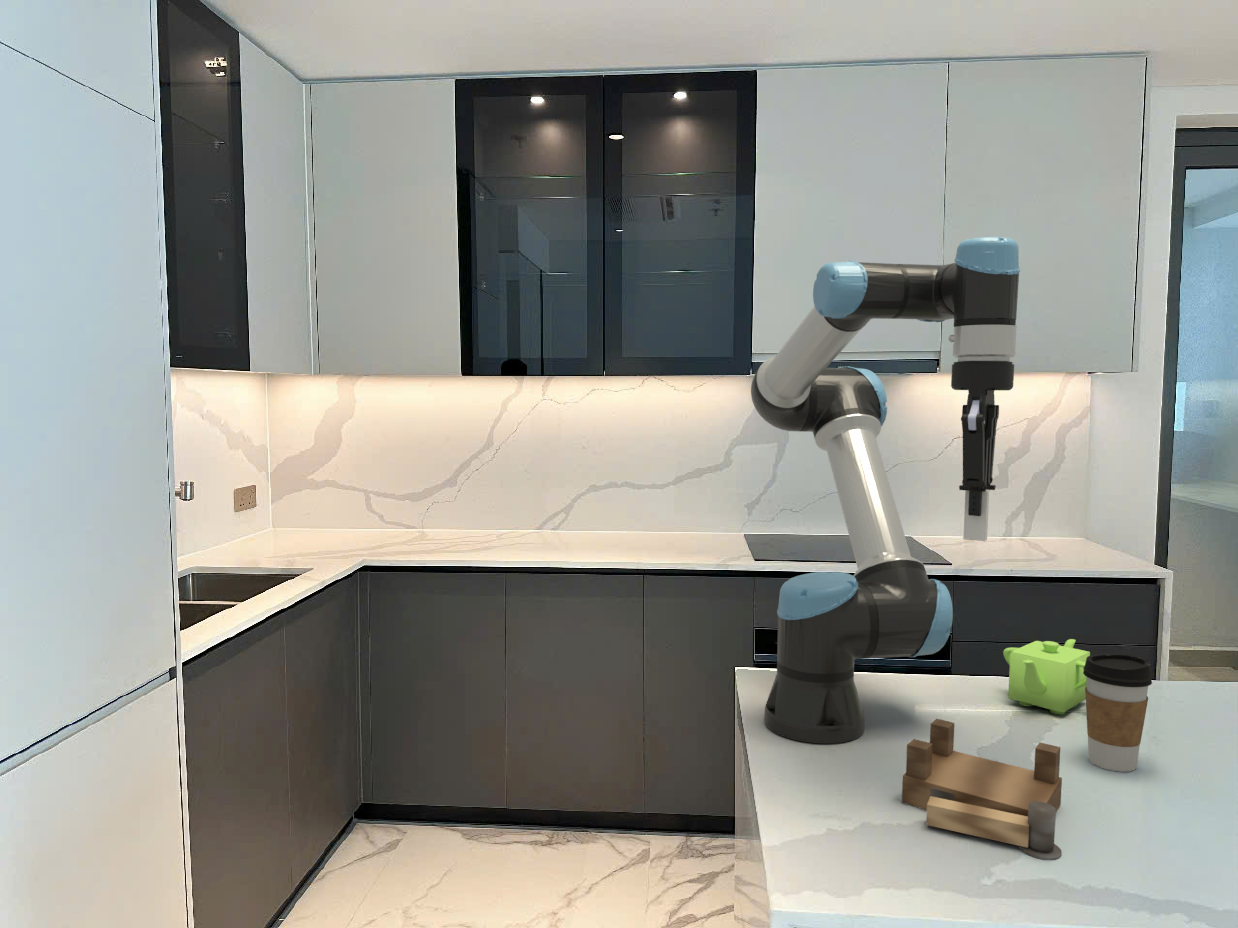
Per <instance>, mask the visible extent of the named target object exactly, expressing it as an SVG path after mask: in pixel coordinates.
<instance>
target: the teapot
mask: <svg viewBox="0 0 1238 928" xmlns="http://www.w3.org/2000/svg"><path fill="white" fill-rule="evenodd" d="M1076 641H1077V640H1076V639H1073V638H1069V639H1067V640H1066V641H1065V643H1064V645H1061V644H1059V643H1058V642H1055V641H1052V640H1051V641H1050V640H1045V641H1041V640H1035V641H1033V642H1030V643H1027V644H1026V645H1023V646H1021V647H1006V648H1005V649H1004V650H1003V651H1002V653H1003V654H1002V655H1003V657H1004V659H1005V661H1006V663H1007V664H1008V665H1009V673H1008V674H1009V676H1008V677H1009V678H1008V693H1007V695H1008V696H1007V698H1008V699H1009V700H1013V701H1016V702H1018V704H1019V705H1020V706H1024V707H1032V706H1036V707H1039V708H1044V709H1046V710H1049V712H1050V713H1051V712H1052V714H1053V713H1054V715H1058V714H1063V715H1065V712H1067V711H1068V710H1070V709H1072V708H1076V707H1077V705H1078V704H1080V703H1082V702H1084V701H1086V696H1085V688H1086V686H1087V681H1086V676H1085V675H1084V674H1083V671H1084V669H1083V667H1084V666H1085V663H1086V659H1087V657H1088V656H1090V655H1091V652H1090V651H1088V650H1087V651H1086V650H1082V649H1079V648H1074V646H1075V643H1076ZM1055 713H1056V714H1055Z"/></svg>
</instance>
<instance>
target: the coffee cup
mask: <svg viewBox="0 0 1238 928" xmlns="http://www.w3.org/2000/svg"><path fill="white" fill-rule="evenodd" d="M1151 666H1152V665H1151V662H1150V660H1148V659H1147V658H1144V657H1141V656H1138V655H1135V654H1134V655H1133V654H1124V653H1099V654H1098V653H1097V654H1090V656H1088V657H1087V659H1086V663H1085V666H1084V667H1083V669H1084V671H1083V674H1084V675H1085V676H1086V681H1087V686H1086V688H1085V696H1086V699H1085V712H1086V728H1087V729H1086V731H1087V746H1088V748H1087V750H1088V752H1087V753H1088V761H1089V762H1090V763H1091V764H1093V765H1094V766H1096V767H1099V768H1101V769H1105V770H1108V771H1113V772H1119V773H1120V772H1121V773H1125V772H1126V773H1127V772H1134V771H1135V770H1136V769H1137V767H1138V759H1139V754H1140V753H1139V752H1140V746H1141V743H1142V742H1141V741H1142V736H1143V730H1144V724H1145V720H1146V719H1145V718H1146V714H1147V713H1146V712H1147V707H1148V702H1149V696H1148V690H1149V686H1151V685H1152V684H1153V681H1152V680H1153V675H1152V669H1151Z"/></svg>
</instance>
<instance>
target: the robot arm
mask: <svg viewBox="0 0 1238 928" xmlns="http://www.w3.org/2000/svg"><path fill="white" fill-rule="evenodd" d="M1020 268H1021V267H1020V266H1019V244H1018V243H1017V241H1016V240H1014V239H1013V238H1010V237H1003V236H985V237H974V238H968V239H965V240H962V241H960V243H959V245H958V246H957V248H956V253H955V258H954V262H952V263H947V264H914V263H913V264H911V263H910V264H909V263H884V262H883V263H882V262H861V261H859V262H858V261H855V260H853V261H852V260H848V261H835V262H832V261H831V262H827V263H825V264H823V265H822V266H821V267H820V268H819V269H818V271H817V274H816V279H815V281H814V283H813V288H812V290H813V291H812V297H813V298H812V301H813V305H814V306H813V307H812V308H811V310H810V311H809V312H808V313H807V315H806V316H805V317H804V318H803V320H802V321H801V323H799V325H798V326H797V328H796V329H795V331H793V333H792V335H790V337H789V338H788V340H787V341H786V342H785V343H784V345H783V346H782V347H781V349H780V350H779V351H778V352H777V354H776V355H775V356H774V355H773V356H771V357H769V358H767V359H765V360H764V361H763V362H762V363H761V365H760V366H759V368H758V369H757V370H756V372H755V373H754V375H753V379H752V381H751V385H750V396H751V401H752V404H753V406H754V408H755V410H756V412H757V413H758V415H760V417H761V418H762V419H763V420H764V421H765V422H766V423H767V424H769V425H771V426H773V427H775V428H777V429H779V430H781V431H787V432H803V433H804V432H806V433H807V432H811V433H813V439H814V441H815V444H816V446H817V447H818V448H819V449H821V450H823V451H825V452H826V453H827V457H828V461H829V464H830V468H831V471H832V476H833V479H834V483H835V488H836V491H837V494H838V498H839V503H840V506H841V510H842V514H843V518H844V521H845V525H846V528H847V532H848V536H849V537H848V538H849V541H850V544H851V547H852V551H853V555H854V560H855V562H856V563H855V564H856V567H857V569H856V571H855V572H854V574H853V575H852V574H850V573H848V572H843V571H832V572H831V571H830V572H828V571H815V572H810V573H804V574H800V575H796V576H794V577H791V578H789V579H788V580H787V581H785V582H784V583H783V584H782V586H781V587H780V590H779V598H778V606H777V609H776V613H777V648H776V649H777V653H776V655H777V657H776V659H777V661H776V674H775V678H774V680H773V684H772V685H771V689H770V691H769V694H768V697H767V700H766V702H765V705H764V720H763V721H764V725H765V726H766V728H768V729H769V730H771V731H772V732H773V733H775V734H776V735H779V736H782V737H784V738H788V739H790V740H795V741H798V742H799V741H800V742H803V743H805V742H806V743H813V744H840V743H846V742H849V741H850V742H851V741H853V740H855V739H857V738H859V737H861V736H862V735H863V734H864V731H865V714H864V709H863V707H862V703H861V700H860V697H859V693H858V689H857V687H856V683H855V677H854V676H855V660H856V659H875V658H877V659H879V658H880V659H881V658H901V657H904V658H905V657H908V658H916V657H917V656H926V655H927V656H928V655H934V654H936V653H938V652H939V651H941V650H942V648H944V646H945V645H946V643H947V642H948V639H949V636H950V635H951V631H952V630H951V629H952V626H953V619H954V617H953V615H954V614H953V613H954V612H953V611H954V610H953V602H952V597H951V593H950V591H949V589H948V587H947V586H946V585H945V584H944V583H943V582H942V581H940V580H938V579H935V578H930V579H929V576H928V574H927V571H926V567H925V565H924V563H923V562H922V561H920V560H919V559H917V558H915V557H912V556H911V551H910V549H909V545H908V543H907V542H908V541H907V539H906V535H905V532H904V529H903V526H902V523H901V519H900V515H899V512H898V509H897V506H896V502H895V498H894V495H893V492H892V489H891V485H890V481H889V479H888V475H887V471H886V469H885V465H884V462H883V458H882V455H881V452H880V448H879V445H878V442H877V437H878V436H879V434H880V433H881V431H882V427H883V425H884V423H885V421H886V418H887V414H888V406H886V403H888V399H887V392H886V390H885V387H884V385H883V384H884V383H883V382H882V381H881V379H880V378H879V376H878V375H877V374H876V373H874V372H873V371H872V370H869V369H866V368H859V367H854V366H843V367H828V366H829V365H830V364H831V363H832V362H833V361H834V360H835V359H836V357H837V356H839V355H840V353H841V352H842V351H843V350H844V349H845V348H846V347H847V346H848V344H849V343H850V342H851V341H852V340H853V339H854V338H855V337H856V335H857V334H858V333H859V332H860V331H861V330H862V329H863V328H864V327H865V326H866V325H867V324H869V322H870V321H871V320H874V319H880V320H881V319H883V320H885V319H886V320H887V319H888V320H889V319H890V320H891V319H892V320H894V319H895V320H918V321H920V322H929V323H931V322H935V323H940V322H941V323H942V322H944V321H948V320H952V319H953V327H954V328H953V333H954V334H950V335H949V336H948V342H950V343H953V344H952V345H953V346H952V356H953V357H954V358H956V359H957V361H954V362H953V363H952V364H951V377H950V378H951V381H950V382H951V383H950V387H951V388H952V390H955V391H968V392H967V393H968V395H967V400H966V404H963V405H962V409H961V410H962V411H961V413H962V414H961V417H960V421H961V428H962V429H961V430H962V480H961V485H959V486H958V488H959V491H964V493H965V494H964V516H963V517H964V518H963V537H962V538H963V540H968V541H979V542H986V541H987V540H988V529H989V527H988V525H989V523H988V522H989V507H990V506H989V503H990V502H989V501H990V491H995V490H996V485H995V484H993V471H994V461H995V459H994V458H995V445H996V435H997V425H998V420H999V417H1000V405H999V404H995V391H1011V390H1012V389H1013V388H1014V380H1015V379H1014V375H1015V364H1014V363H1013V362H1012V361H1011V358H1014V357H1015V356H1016V347H1017V345H1016V344H1017V323H1016V322H1017V321H1016V320H1017V313H1018V312H1017V311H1018V297H1019V280H1020V279H1019V277H1020V272H1021V269H1020Z"/></svg>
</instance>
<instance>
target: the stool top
mask: <svg viewBox="0 0 1238 928" xmlns="http://www.w3.org/2000/svg"><path fill="white" fill-rule="evenodd" d="M929 733H930V734H929V742H927V741H924V740H919V739H916V738H912V739H911V741H910V742H908V743H907V744H906V761H905V763H906V765H905V773H904V774H903V775H902V783H901V784H902V786H901V803H903V804H906V805H909V806H913V807H917V808H919V807H920V809H923V810H926V811H927V803H928V801H929V798H930V796H932V797H937V798H942V799H947V800H951V801H956V802H961V803H966V804H970V805H975V806H980V807H985V808H989V809H994V810H999V811H1004V812H1008V813H1013V814H1018V815H1023V816H1027V817H1028V805H1029V803H1030V802H1035V801H1037V802H1044V803H1047V804H1050V805H1052V806H1053V807H1055V809H1056V813H1057V812H1058V810H1059V808H1060V806H1061V803H1062V786H1063V777H1060V767H1061V766H1060V765H1061V763H1060V762H1061V761H1060V760H1061V746H1058V745H1052V744H1049V743H1044V742H1039V743H1038V744H1037V745H1036V747H1035V749H1034V750H1035V751H1034V767H1033V769H1034V770H1032V769H1028V768H1024V767H1020V766H1016V765H1014V764H1009V763H1004V762H1000V761H996V760H991V759H988V758H985V757H981V756H976V755H971V754H968V753H964V752H960V751H956V750H954V745H955V743H954V741H955V722H952V721H948V720H944V719H941V718H940V719H939V718H935V719H934V720H933V721H932V722H931V723H930V732H929ZM1018 848H1019V850H1021V852H1023V853H1024V854H1026V855H1028V856H1030V857H1032V858H1035V859H1039V860H1047V861H1053V860H1057V859H1060V858H1061V857H1062V855H1063V854H1062V853H1063V852H1062V851H1063V850H1062V849H1061V847H1059V846H1058V845H1057V844H1055V843H1054V849H1053V850H1052V851H1050V852H1043V851H1038V850H1035V849H1033V848H1031V847H1029V846H1028V848H1027V847H1023V846H1018Z"/></svg>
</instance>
